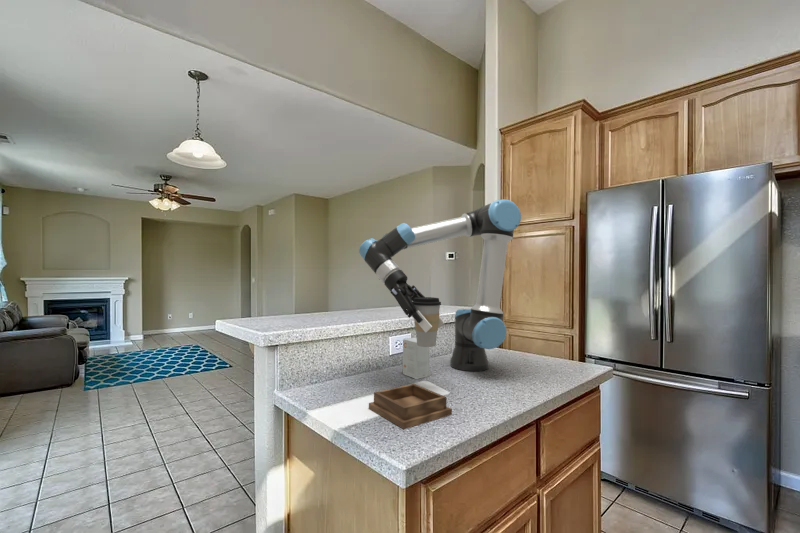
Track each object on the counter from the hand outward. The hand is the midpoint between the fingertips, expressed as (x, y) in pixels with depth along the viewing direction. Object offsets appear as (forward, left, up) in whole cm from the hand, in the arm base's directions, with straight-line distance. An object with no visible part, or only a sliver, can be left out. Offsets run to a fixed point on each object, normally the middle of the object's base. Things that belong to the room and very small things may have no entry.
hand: (435, 327), depth 116 cm
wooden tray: (+16, +8, -20) cm, 27 cm away
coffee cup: (+1, -3, -6) cm, 7 cm away
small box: (-7, -18, -21) cm, 28 cm away
